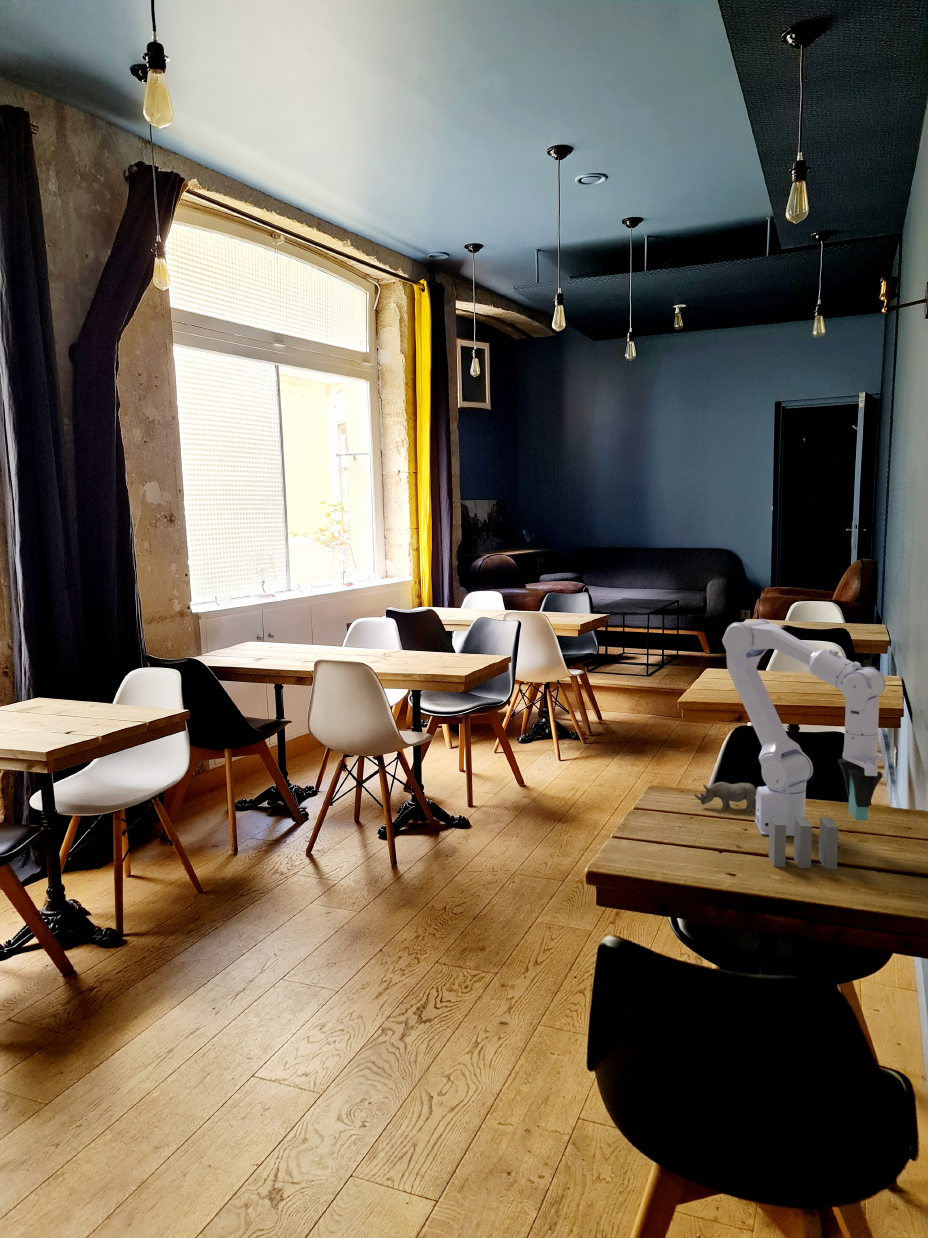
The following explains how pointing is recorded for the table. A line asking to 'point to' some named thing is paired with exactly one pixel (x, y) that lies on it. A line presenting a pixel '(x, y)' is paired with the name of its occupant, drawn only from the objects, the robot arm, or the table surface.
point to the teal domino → (855, 811)
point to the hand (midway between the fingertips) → (858, 801)
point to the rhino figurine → (730, 794)
